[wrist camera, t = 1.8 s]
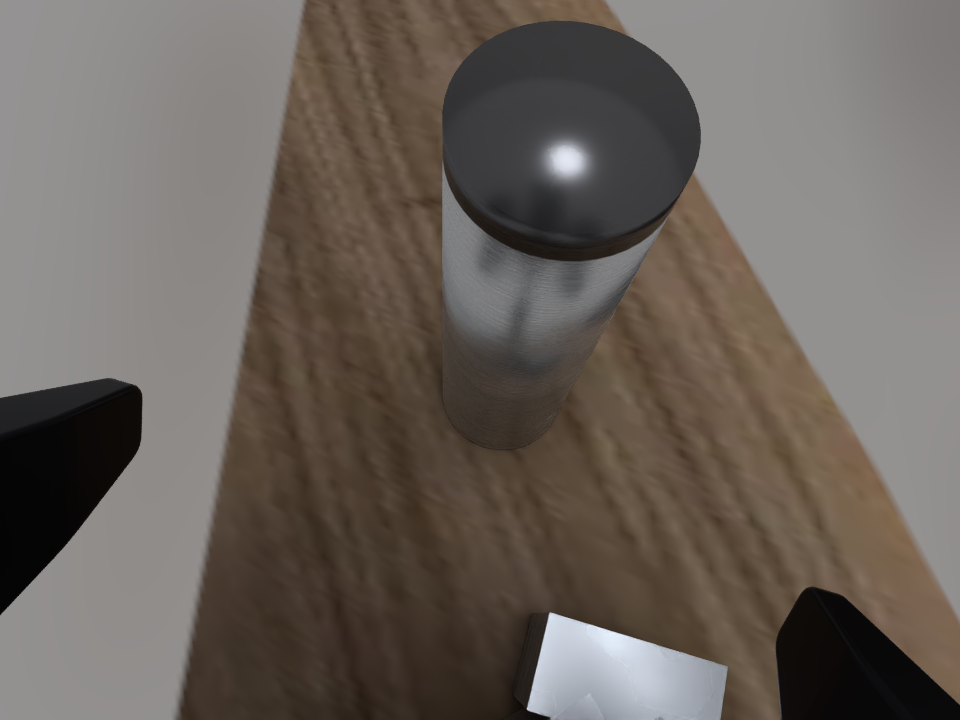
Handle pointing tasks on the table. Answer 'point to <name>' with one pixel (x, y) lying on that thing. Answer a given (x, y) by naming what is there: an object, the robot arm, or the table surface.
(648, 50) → the axle
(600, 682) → the v block
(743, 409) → the table surface
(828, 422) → the table surface
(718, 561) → the table surface
